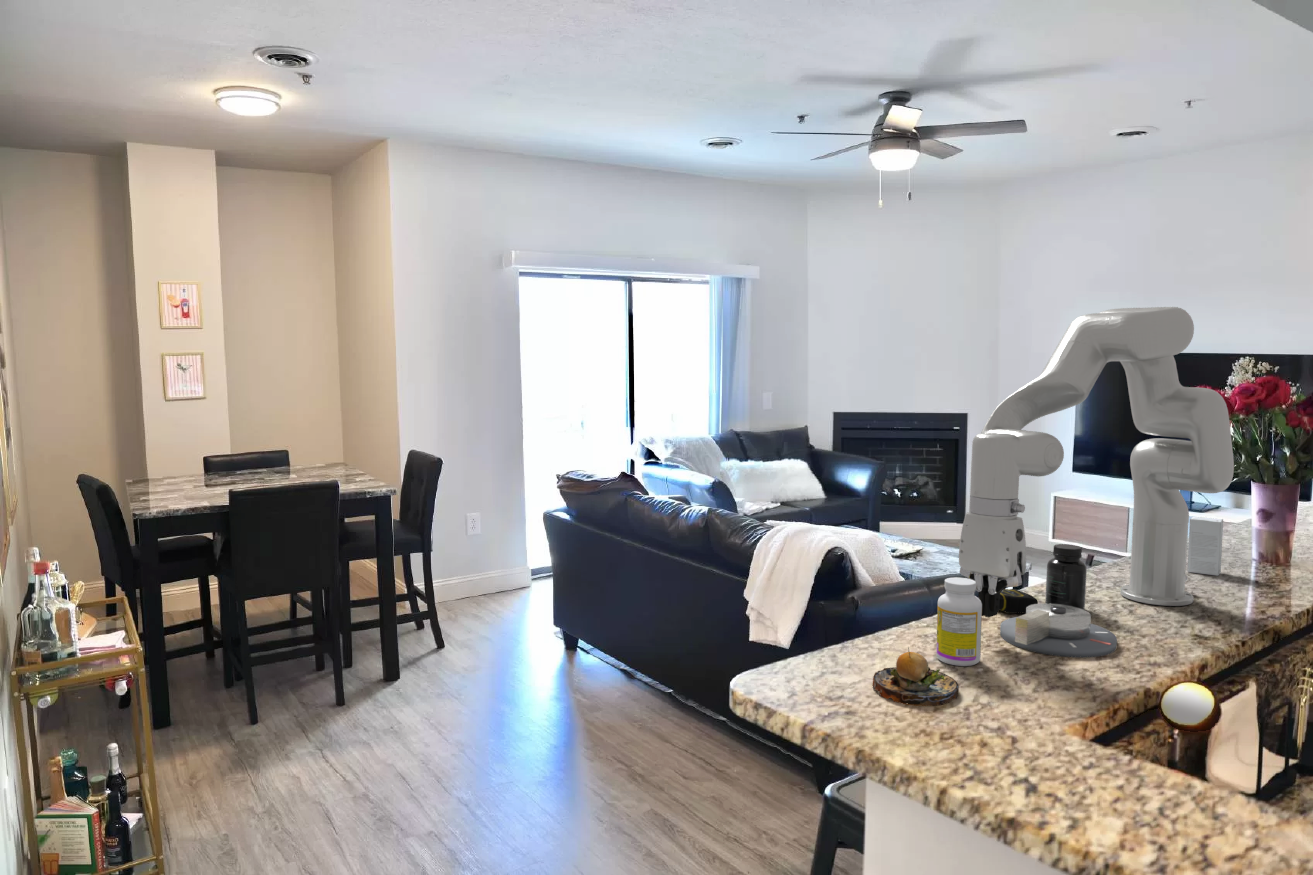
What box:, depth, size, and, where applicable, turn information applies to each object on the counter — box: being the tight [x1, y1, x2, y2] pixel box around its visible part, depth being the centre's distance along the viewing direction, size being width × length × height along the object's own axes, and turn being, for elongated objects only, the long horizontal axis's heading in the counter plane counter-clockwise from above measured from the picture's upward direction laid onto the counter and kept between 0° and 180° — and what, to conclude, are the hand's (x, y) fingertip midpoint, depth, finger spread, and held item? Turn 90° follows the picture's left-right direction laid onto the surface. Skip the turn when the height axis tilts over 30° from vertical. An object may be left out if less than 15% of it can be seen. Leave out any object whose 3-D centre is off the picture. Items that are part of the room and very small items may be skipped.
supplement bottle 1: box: [936, 576, 983, 667], centre depth 142 cm, size 7×7×13 cm
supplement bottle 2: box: [1044, 543, 1088, 610], centre depth 170 cm, size 7×7×12 cm
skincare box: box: [1187, 516, 1224, 577], centre depth 197 cm, size 6×4×12 cm
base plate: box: [999, 616, 1118, 659], centre depth 152 cm, size 18×18×2 cm
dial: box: [1015, 603, 1092, 645], centre depth 150 cm, size 17×10×4 cm, turn 129°
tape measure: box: [999, 588, 1039, 614], centre depth 169 cm, size 7×7×4 cm
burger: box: [872, 646, 960, 707], centre depth 129 cm, size 12×12×8 cm
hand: (988, 614), depth 151 cm, fingers closed
